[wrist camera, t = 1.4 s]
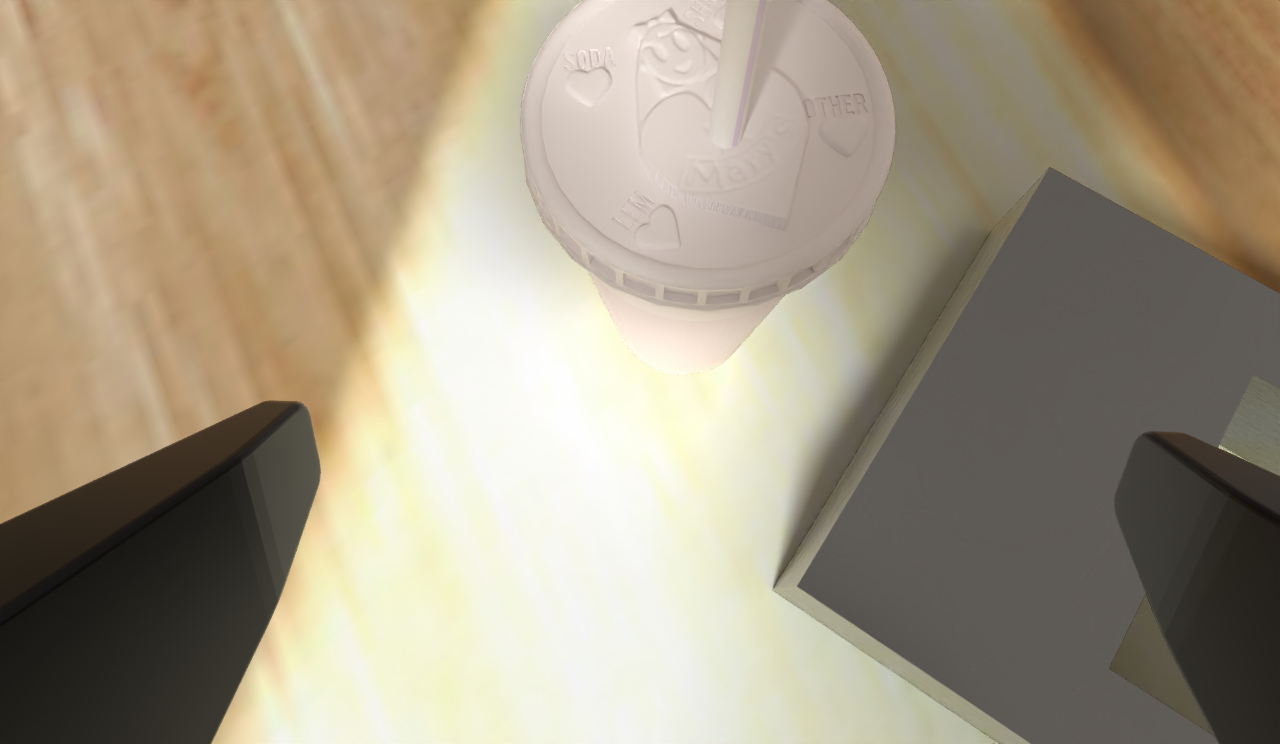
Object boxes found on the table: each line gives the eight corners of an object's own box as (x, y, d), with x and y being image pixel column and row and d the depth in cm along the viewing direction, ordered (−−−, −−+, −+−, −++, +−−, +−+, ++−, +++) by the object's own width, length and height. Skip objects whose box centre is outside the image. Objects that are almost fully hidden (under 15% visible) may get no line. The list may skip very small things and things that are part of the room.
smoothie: (638, 467, 22) (629, 243, 8) (526, 271, 23) (367, -183, 10) (842, 352, 23) (1128, -18, 9) (721, 170, 24) (817, -374, 11)
